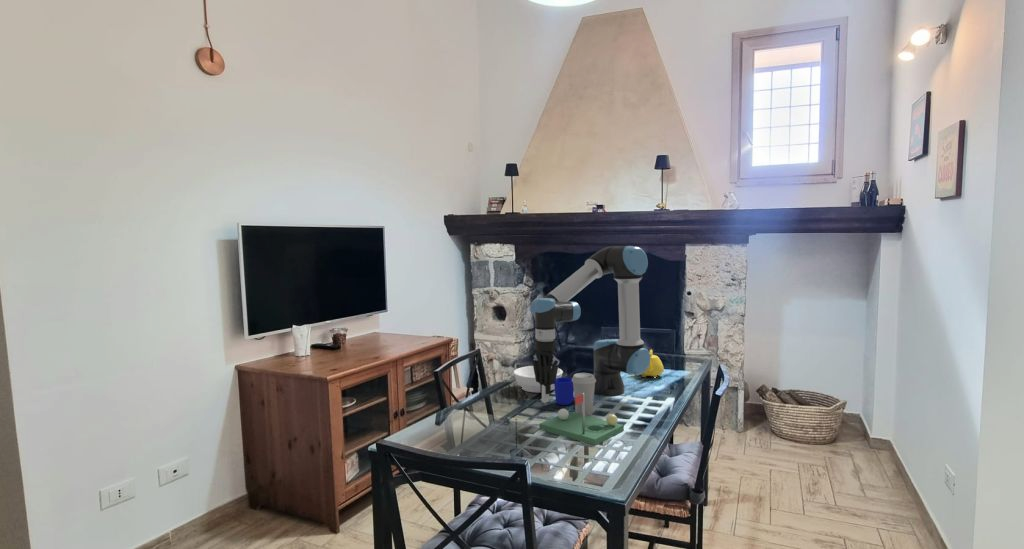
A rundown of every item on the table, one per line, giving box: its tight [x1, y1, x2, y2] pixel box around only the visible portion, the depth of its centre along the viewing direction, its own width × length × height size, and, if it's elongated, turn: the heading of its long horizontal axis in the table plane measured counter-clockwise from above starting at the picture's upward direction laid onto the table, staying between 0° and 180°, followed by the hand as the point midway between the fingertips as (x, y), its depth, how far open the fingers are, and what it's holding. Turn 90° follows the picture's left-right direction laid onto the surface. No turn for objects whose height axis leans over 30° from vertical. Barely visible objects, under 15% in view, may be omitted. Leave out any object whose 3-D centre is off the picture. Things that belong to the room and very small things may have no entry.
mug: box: [554, 376, 575, 406], centre depth 226 cm, size 8×12×10 cm
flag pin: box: [574, 393, 585, 434], centre depth 184 cm, size 5×1×14 cm, turn 137°
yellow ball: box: [605, 413, 619, 426], centre depth 193 cm, size 4×4×4 cm
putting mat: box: [538, 411, 625, 446], centre depth 195 cm, size 18×24×2 cm
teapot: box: [641, 349, 665, 378], centre depth 268 cm, size 20×15×12 cm
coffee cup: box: [571, 372, 596, 416], centre depth 213 cm, size 10×10×15 cm
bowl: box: [513, 365, 564, 393], centre depth 249 cm, size 22×22×8 cm
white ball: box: [557, 408, 569, 420], centre depth 200 cm, size 4×4×4 cm
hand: (545, 401), depth 205 cm, fingers closed
